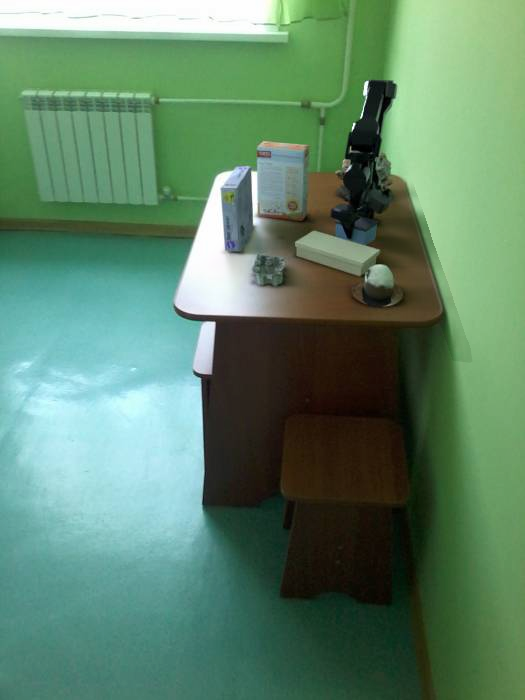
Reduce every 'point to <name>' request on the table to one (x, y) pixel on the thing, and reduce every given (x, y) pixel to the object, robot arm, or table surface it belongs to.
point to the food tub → (359, 231)
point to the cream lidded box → (337, 252)
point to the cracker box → (282, 180)
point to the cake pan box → (237, 208)
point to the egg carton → (268, 269)
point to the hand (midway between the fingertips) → (355, 234)
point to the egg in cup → (377, 288)
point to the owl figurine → (382, 170)
